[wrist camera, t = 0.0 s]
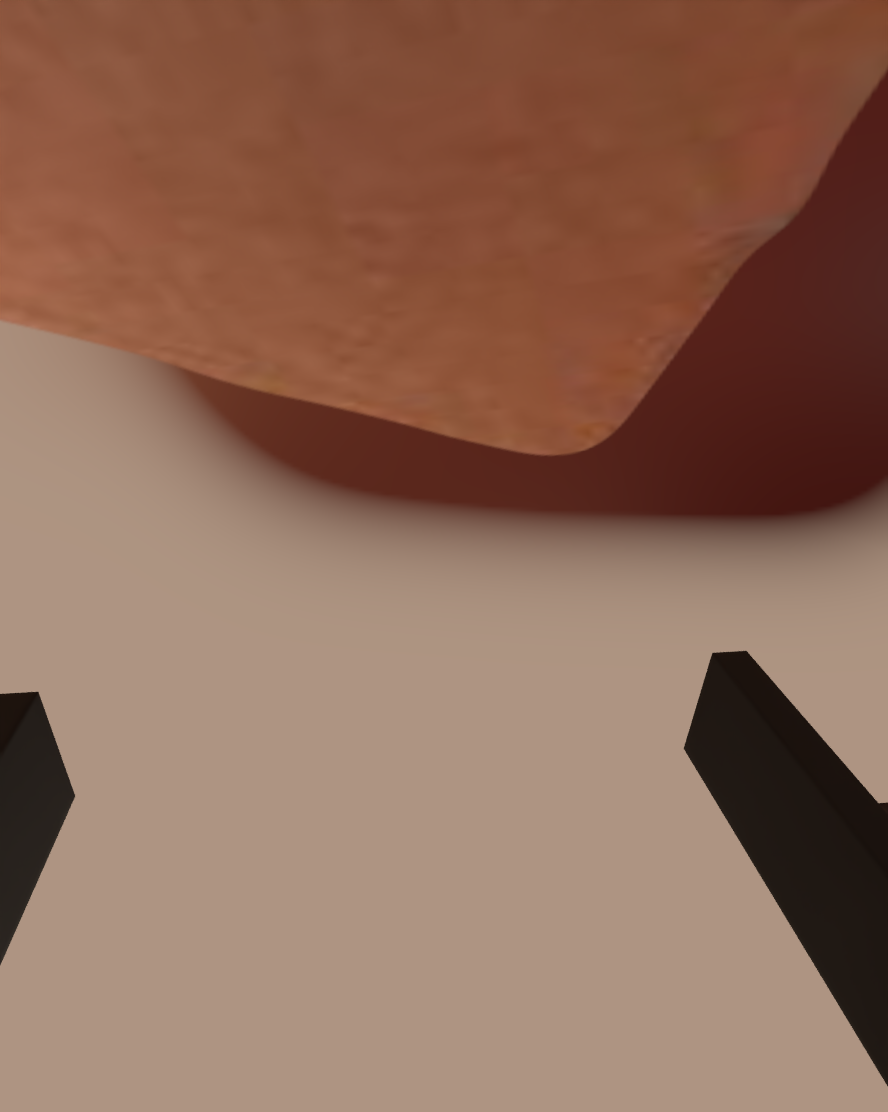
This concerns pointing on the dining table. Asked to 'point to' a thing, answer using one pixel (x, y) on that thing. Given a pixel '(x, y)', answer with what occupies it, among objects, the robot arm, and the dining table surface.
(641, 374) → the dining table surface
